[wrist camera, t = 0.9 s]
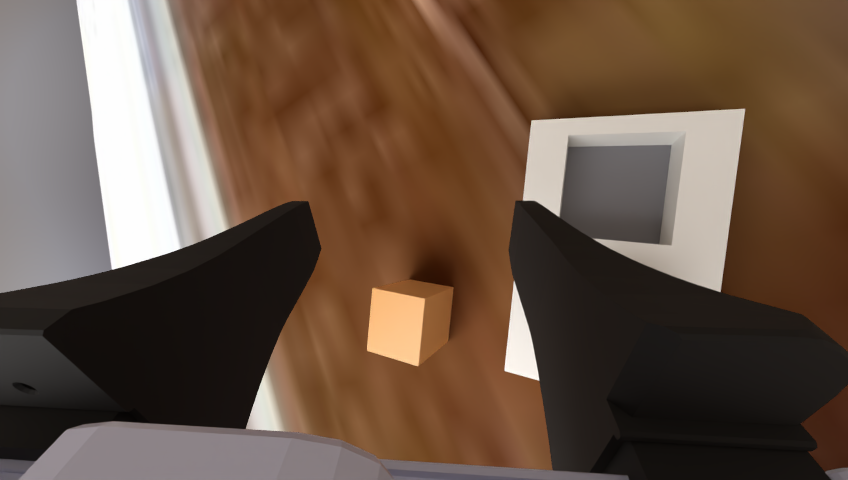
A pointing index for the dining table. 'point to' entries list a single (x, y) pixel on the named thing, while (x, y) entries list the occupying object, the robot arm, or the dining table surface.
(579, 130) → the white rectangular base
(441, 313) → the plug
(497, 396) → the dining table surface
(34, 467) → the robot arm
